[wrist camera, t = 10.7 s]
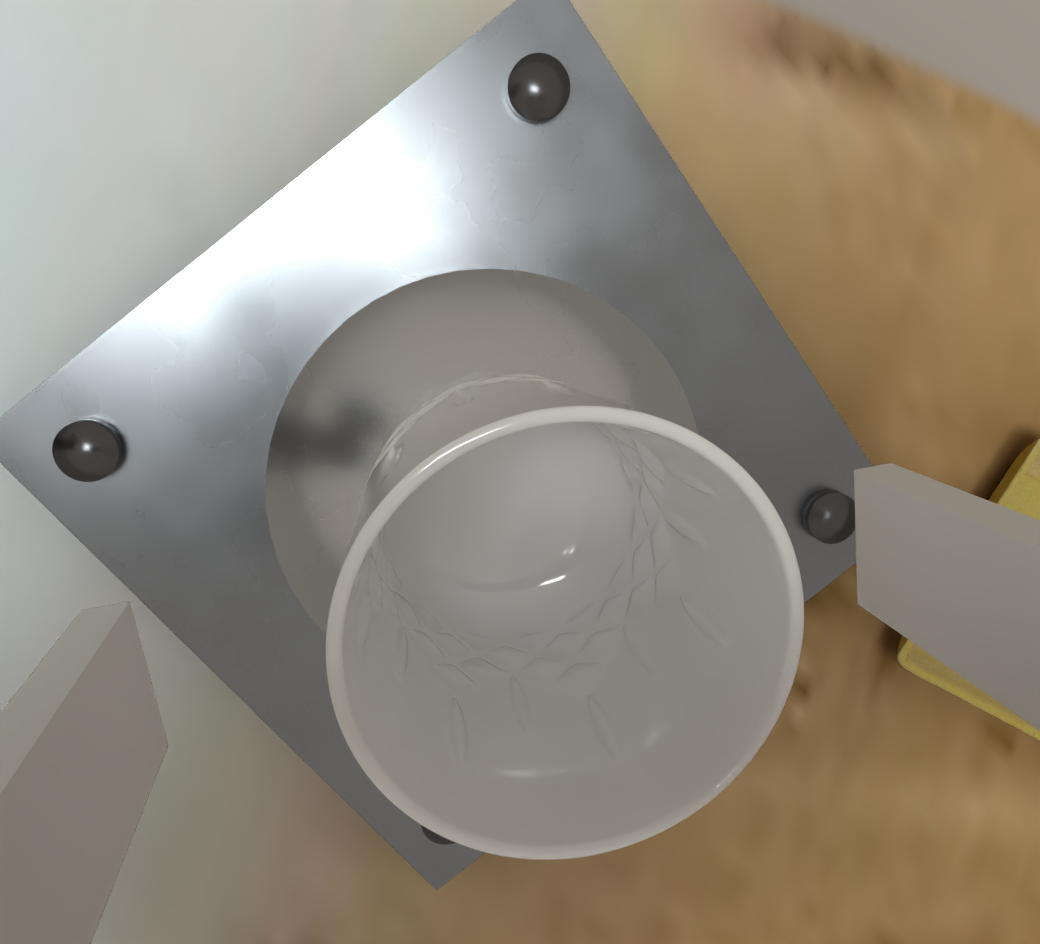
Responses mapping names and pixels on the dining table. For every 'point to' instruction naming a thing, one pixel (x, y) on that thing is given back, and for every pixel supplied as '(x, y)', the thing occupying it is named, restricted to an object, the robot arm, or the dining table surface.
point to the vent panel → (414, 363)
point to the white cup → (558, 619)
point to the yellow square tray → (1028, 490)
